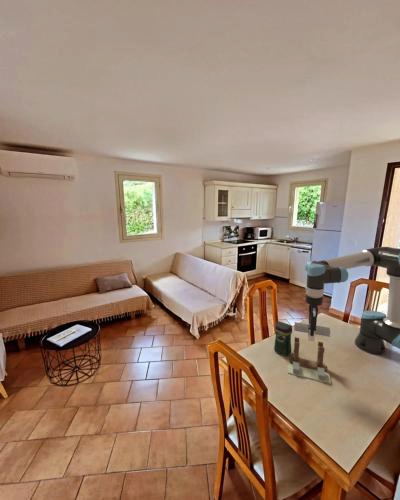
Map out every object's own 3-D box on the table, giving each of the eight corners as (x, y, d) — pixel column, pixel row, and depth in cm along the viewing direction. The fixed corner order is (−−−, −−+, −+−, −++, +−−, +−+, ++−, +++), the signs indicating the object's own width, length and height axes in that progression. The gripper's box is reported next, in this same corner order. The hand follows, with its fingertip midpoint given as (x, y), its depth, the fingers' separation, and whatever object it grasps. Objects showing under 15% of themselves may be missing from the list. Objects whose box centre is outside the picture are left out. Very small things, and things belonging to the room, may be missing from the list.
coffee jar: (293, 352, 134) (294, 324, 131) (287, 358, 129) (289, 329, 125) (277, 345, 141) (279, 318, 138) (272, 351, 135) (273, 323, 132)
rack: (324, 364, 123) (326, 343, 120) (326, 371, 118) (328, 349, 115) (290, 357, 130) (291, 336, 127) (290, 363, 124) (291, 341, 122)
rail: (328, 333, 110) (329, 327, 110) (329, 336, 108) (330, 330, 107) (294, 327, 117) (294, 322, 116) (294, 330, 114) (294, 325, 113)
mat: (328, 374, 116) (329, 369, 115) (331, 383, 109) (331, 378, 109) (288, 364, 123) (288, 359, 123) (287, 373, 117) (288, 368, 116)
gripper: (305, 289, 117) (302, 329, 122) (306, 300, 103) (303, 346, 107) (320, 290, 115) (317, 332, 119) (325, 302, 100) (321, 349, 104)
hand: (310, 338), depth 113 cm, fingers closed on rail, 3 cm apart
